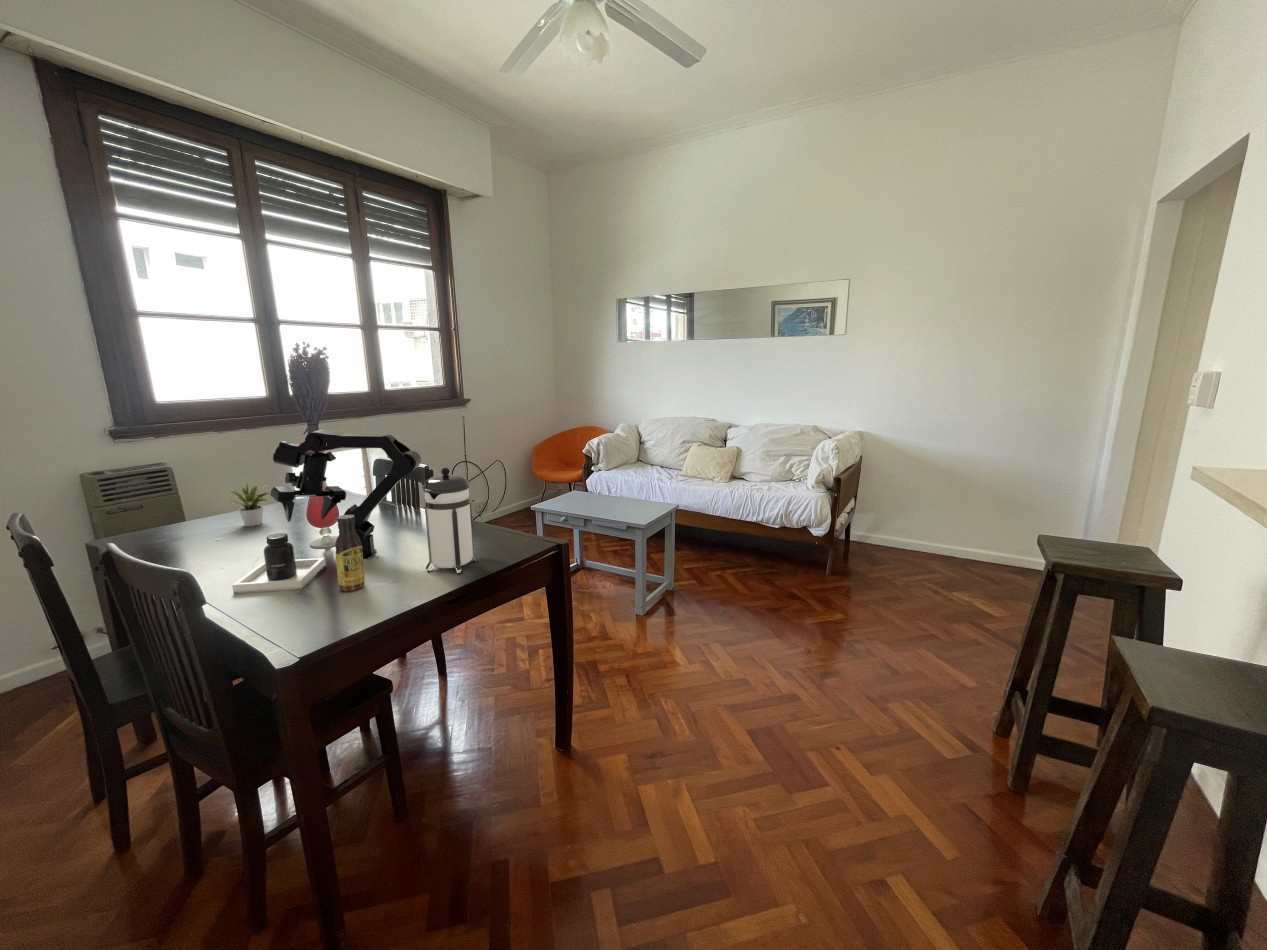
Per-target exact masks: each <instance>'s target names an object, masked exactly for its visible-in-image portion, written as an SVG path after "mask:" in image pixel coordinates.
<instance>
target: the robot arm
mask: <svg viewBox="0 0 1267 950" xmlns="http://www.w3.org/2000/svg"><path fill="white" fill-rule="evenodd" d="M326 443H327V446H326ZM341 448H345V449H348V448H349V449H381V450H383V452H385V454H386V455H387V457H388V458H389V459H390V461H392V462H393V464H392V465H391V467H390V470H389V471H388V473H387V475H386V476H385V477H384V478H383V479H382V480H381V482H379V483H378V484H377V486H376V487H375V488H374V489H373V490H372V491H371V492H370V493H369V495H368V496H367V497H366V498H365V499H364V500H363V501H362V502H361V504H359V506H358V505H357V504H356V503H354V504H353V505H351V506H350V507H348V508H347V509H346V510H345V512H344V513H343V515H354V516H355V529H356V533H357V535H358V536H359V538H360V541H361V545H362V553H363V559H371V558H372V557H373V556H374V555H375V554H376V553H377V549H376V548H375V543H374V542H375V541H374V540H375V539H374V534H373V532H374V529H375V525H374V524H373V523H371V522H370V521H369V519H370V517H371V514H372V513H373V511H374V510H375V508H377V506H378V505H379V504H380V503H381V502H382V501H383V500H384V498H385V497H387V496H388V494H389V493H390V492H391V491H392V490H393V489H394V488H395V487H396V485H397V484H398V483H399V482H400V481H401V480H402V479H403V478H405V477H406V476H408V475H409V474H410V473H411V472H413V471H414V470H416V469H417V468H418V467H419V466H420V465H421V464H422V458H421V455H420V454H419V452H417V451H415V450H411V449H410V447H408V446H407V445H406V444H404V443H402V442H401V441H399V440H398V439H397V438H396V437H395V436H393V435H392V434H391V433H390V434H388V433H387V434H362V433H360V434H357V433H356V434H352V433H351V434H349V433H342V432H337V431H334V430H327V429H319V430H314V431H312V432H309V433H308V434H307V435H306V436H305V439H304V441H303V442H301V443H300V444H296V443H292V442H289V441H285V440H282V441H280V442H279V444H278V446H277V447H276V449H275V451H274V453H273V456H272V461H273V463H275V464H279V465H283V466H287V467H292V468H297V469H298V468H300V466H302V471H300V472H299V475H296V472H286V473H285V477H284V480H285V481H284V483H285V484H291V487H295V488H296V489H294V490H292V489H291V488H290V487H289V486H273V487H272V489H270V493H269V494H270V497H272V498H273V499H274V500H275V501H276V502H278V503H280V504H281V505H282V507H283V510H284V514H285V518H286V521H287V522H288V523H289V522H291V520H292V517H293V512H294V507H295V502H294V500H295V498H303V497H306V498H309V497H323V498H322V499H323V503H322V507H321V510H320V511H321V512H320V518H319V519H320V520H321V521H322V520H324V519H325V518H326V517H327V516H328V514H329V513H330V512H331V511H332V510H333V509H334V508H335V506H336V505H337V504H341V502H342V501H345V500H347V492H346V491H345V490H344V489H343V488H342V487H340V486H339V485H334V486H333V485H331V486H330V485H329V486H327V485H326V487H324V482H326V481H327V477H326V471H327V465H328V462H332V461H333V462H334V461H335V460H336V459H337V457H336V456H335V455H334V454H333V453H332V451H330V450H335V449H341ZM324 451H328V452H324ZM323 487H324V488H323ZM337 527H338V530H339V524H338V523H337Z"/></svg>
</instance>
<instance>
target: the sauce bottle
mask: <svg viewBox="0 0 1267 950" xmlns="http://www.w3.org/2000/svg"><path fill="white" fill-rule="evenodd" d="M336 520H337V525H338V524H339V529H338V535H337V538H336V539H335V543H334V545H335V560H336V561H335V562H336V572H337V584H338V589H339V591H342V592H344V591H345V592H353V590H354V591H358V590H360V589H362V588H364V586H365V581H366V578H365V566H364V558H363V553H362V545H361V541H360V538H359V536H358V535H357V533H356V529H355V516H354V515H344V514H343V515H340V516H338V517H337V518H336ZM361 587H362V588H361ZM359 588H360V589H359ZM357 589H358V590H357Z"/></svg>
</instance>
